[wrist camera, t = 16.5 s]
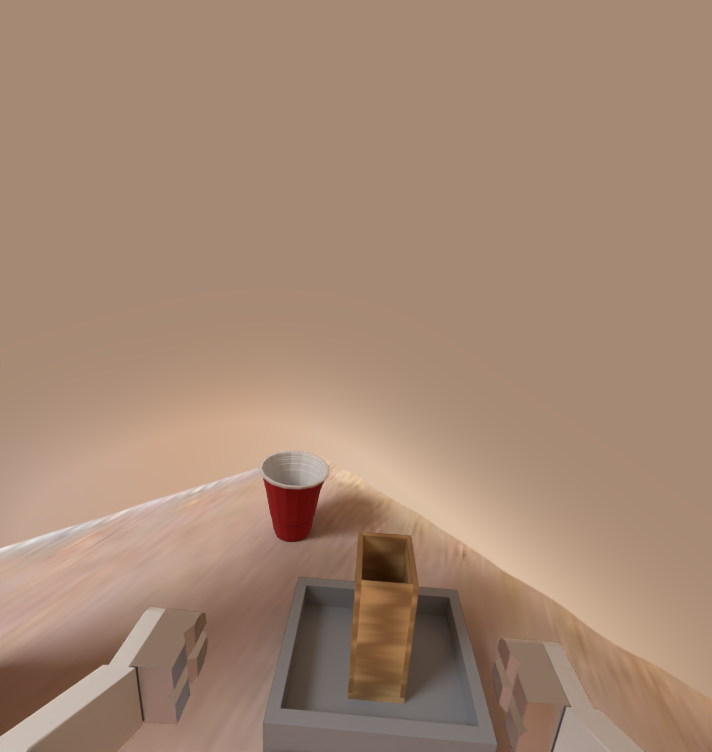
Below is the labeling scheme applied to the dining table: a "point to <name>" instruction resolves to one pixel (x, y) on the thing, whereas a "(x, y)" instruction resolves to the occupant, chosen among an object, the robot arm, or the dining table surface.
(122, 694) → the robot arm
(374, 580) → the wooden pencil holder
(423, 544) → the dining table surface
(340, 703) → the gray tray
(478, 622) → the dining table surface
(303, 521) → the plastic cup
